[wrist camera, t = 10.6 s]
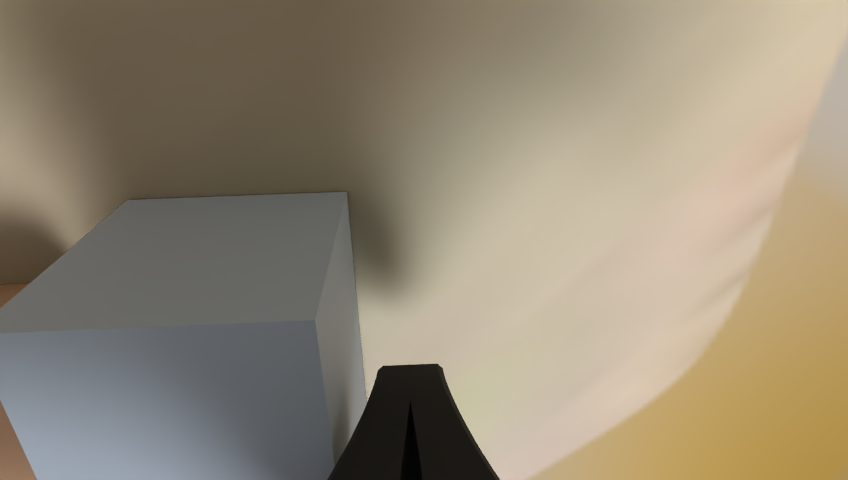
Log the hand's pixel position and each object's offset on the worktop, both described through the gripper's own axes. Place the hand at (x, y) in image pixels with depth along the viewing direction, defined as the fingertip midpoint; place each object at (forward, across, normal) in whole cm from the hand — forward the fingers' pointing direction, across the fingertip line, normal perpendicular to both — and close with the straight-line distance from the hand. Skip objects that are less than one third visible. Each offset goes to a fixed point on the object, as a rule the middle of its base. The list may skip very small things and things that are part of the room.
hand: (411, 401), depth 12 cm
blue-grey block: (+3, +4, 0) cm, 5 cm away
